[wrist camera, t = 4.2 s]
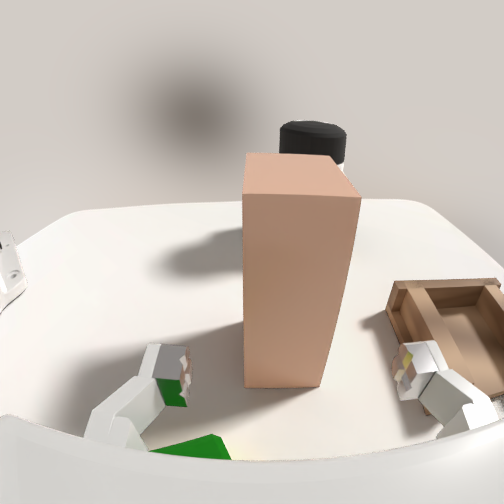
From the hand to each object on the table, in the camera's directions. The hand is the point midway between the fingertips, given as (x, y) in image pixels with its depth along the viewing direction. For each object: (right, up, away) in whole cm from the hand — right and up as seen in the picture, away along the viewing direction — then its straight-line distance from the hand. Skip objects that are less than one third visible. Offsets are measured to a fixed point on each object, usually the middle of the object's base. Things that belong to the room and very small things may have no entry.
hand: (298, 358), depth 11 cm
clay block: (0, -3, +9) cm, 9 cm away
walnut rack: (+14, -3, +8) cm, 17 cm away
